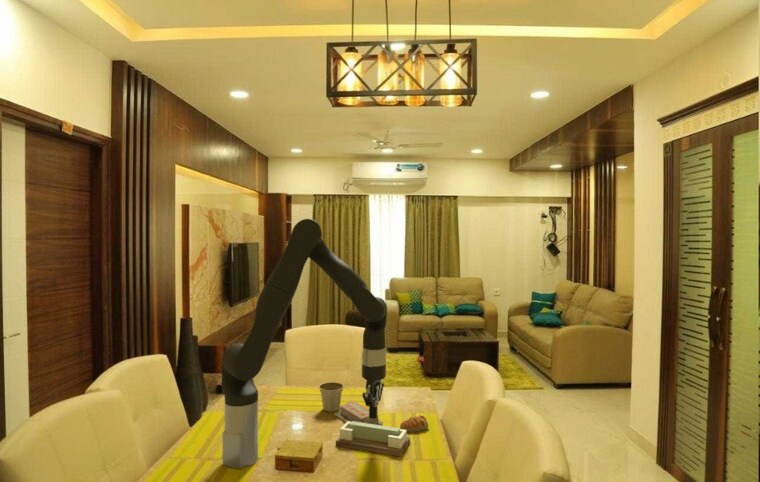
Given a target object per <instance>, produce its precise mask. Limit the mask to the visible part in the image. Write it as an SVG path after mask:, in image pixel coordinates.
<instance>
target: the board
mask: <svg viewBox="0 0 760 482" xmlns="http://www.w3.org/2000/svg"><path fill="white" fill-rule="evenodd" d="M410 443H411V438H410V437H409V436H407V440H406V442H405V443H404V445H403V446H402V447H401V449H400V448H394V447H388V443H385V442H379V441H373V440H366V439H360V438H354V437H353V439H352V440H346V439H340V436H339V437H338V438H337V439H336V440H335V446H337V447H342V448H348V449H354V450H360V451H366V452H367V451H368V452H372V453H378V454H383V455H384V454H385V455H391V456H396V457H401V456H402V455H403V453H404V452H405V451H406V449H407V447H408V446H409V444H410Z"/></svg>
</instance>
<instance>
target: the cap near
mask: <svg viewBox="0 0 760 482" xmlns="http://www.w3.org/2000/svg"><path fill="white" fill-rule="evenodd" d="M407 433H408V432H407V430H403V429H400V435H399V436H393V435H389V436H388V447H394V448H400V449H401V447H402V446H403V445H404V443H405V442H406V440H407V437H408V435H407Z"/></svg>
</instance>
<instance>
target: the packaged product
mask: <svg viewBox="0 0 760 482" xmlns="http://www.w3.org/2000/svg"><path fill="white" fill-rule="evenodd" d="M334 415H335V417H337V418H339V419H340V420H341V421H342V422H344V424H346V423H347V422H348V421H350V422H352V421H354V422H361V423H367V424H374V425H381V426H384V424H383V423H384V422H383V421H381V420H380V419H379V415H378V414H377V417H376V418H375V419H372V418H369V408H367V407H366V406H363V405H362V404H360V403H359V402H357V401H353V400H350V401H348V402H345V403H344V404H342V405H340V409H339V411H336V412H334Z"/></svg>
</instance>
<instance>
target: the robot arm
mask: <svg viewBox="0 0 760 482" xmlns="http://www.w3.org/2000/svg"><path fill="white" fill-rule="evenodd" d="M322 232H323V231H322V228H321V226H320V223H318V221H316V220H315V219H313V218H304V219H301V220H299V221H298V222H297V223H296V224H295V225H294V226H293V228H292V230H291V233H290V235H289V240H288V242H287V244H286V247H285V249H284V251H283V253H282V255H281V257H280V259H279V260H278V262H277V264H276V265H275V267H274V269H273V270H272V272H271V273H270V275H269V277H268V279H267V281H265V282H266V283H265V284H264V286H263V288H262V290H261V292H260V294H259V296H258V299H257V301H256V306H255V311H254V312H255V313H254V319H253V324H252V328H251V330H250V332H249V335H248V336H247V338H246V339H245V341H244V343H234V344H231V345H230V346H229V347H227V348H226V350H224V352H223V355H222V359H221V386H222V387H221V388H222V393H223V396H224V431H223V432H222V466H224V467H228V468H232V469H237V470H241V469H243V468H245V467H248V466H251V465H253V464H255V463H256V462H258V460H259V390H258V388H257V386H256V384H255V382H254V378H255V377H257V375H258V374H260V371H261V369H262V368H263V366H264V364H265V361H266V357H267V355H268V352H269V350H270V347H271V345H272V342H273V340H274V336H275V335H276V333H277V331H278V328H279V326H280V324H281V322H282V320H283V318H284V316H285V314H286V312H287V311H288V309H289V306H290V304H291V302H292V301H293V299H294V296H295V294H296V292H297V289H298V286H299V283H300V280H301V277H302V273H303V270H304V267H305V264H306V263H307V260H308V259H310V260H312V261H313V262H314V263H315V264H316V265H317V266H318V267H319V268H320V269H321V270H322V271H324V273H325V274H326V275H327V276H328V277H329V278H330V279H331V281H332V282H333V283H334V284H335V285H336V286H337V287H338V288H339V289H340V290H341V291H342V293H344V294H345V296H346V297H347V298H348V299H350V301H351V302H352V304H353V306H354V308H356V310H357V312H358V313H359V314H360V315H361V316H362V317H363V318H364V319H365V325H364V326H365V327H364V330H363V335H362V352H361V377H362V378H363V380H365V381H366V382H365V383H366V384H365V392H362V398H363V401H364V404H365V407H368V409H369V418H372V419H375V418H376V417H377V415H378V406H379V403H380V402H381V401H382V400H381V398H382V395H383V390H384V387H385V383H384V382H382V380H384V379H386V375H387V353H386V325H387V319H388V318H387V315H388V306H387V303H386V302H385V300H384V299H383V298H381V297H379V296H375V295H374V294H373V293H372V292H371V290H369V288H368V285H367V283H366V282H365V280H363V279H362V278H361V276H360V275H358V274H357V272H356V270H354V269H353V268H352V267H351V266H350V265H348V264H347V263H345V262H344V261H343V260H341V258H339V257H338V256H337V255H336V254H335V253H334V252H333V251H332V250H330V248H329V247H328V245H327V244H326V242H325V241H324V239H323V233H322Z"/></svg>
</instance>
